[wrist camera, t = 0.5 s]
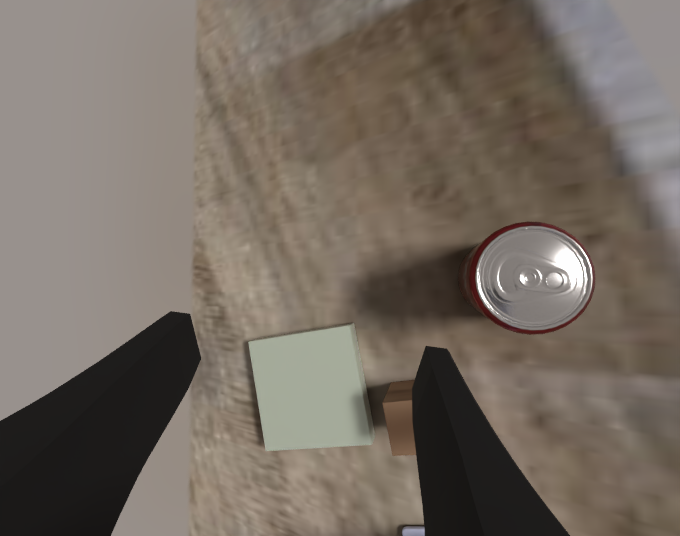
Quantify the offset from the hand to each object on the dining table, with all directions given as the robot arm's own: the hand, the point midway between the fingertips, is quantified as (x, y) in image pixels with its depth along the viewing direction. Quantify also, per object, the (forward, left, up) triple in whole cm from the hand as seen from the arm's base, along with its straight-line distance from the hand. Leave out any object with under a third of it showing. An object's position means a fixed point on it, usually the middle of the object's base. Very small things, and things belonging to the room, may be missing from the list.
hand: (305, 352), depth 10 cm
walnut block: (-11, 0, -26) cm, 28 cm away
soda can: (0, -10, -26) cm, 28 cm away
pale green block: (-8, +11, -25) cm, 29 cm away
